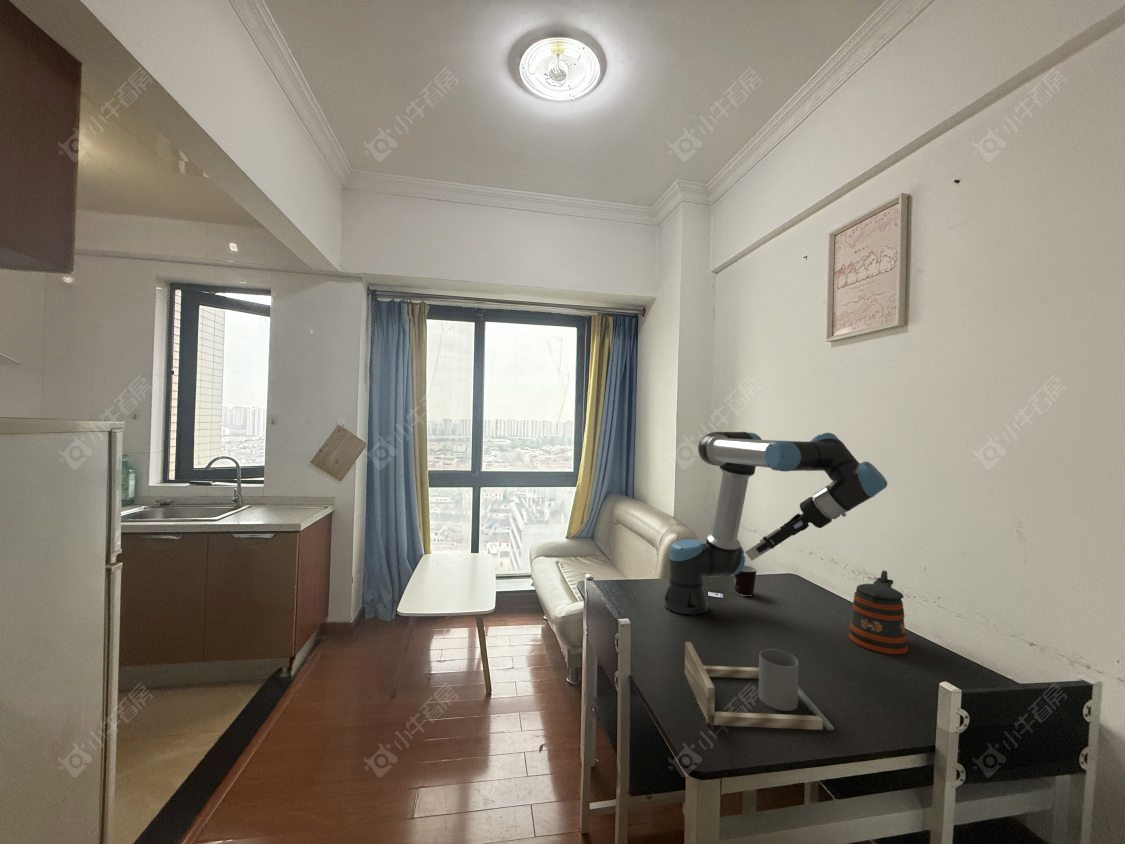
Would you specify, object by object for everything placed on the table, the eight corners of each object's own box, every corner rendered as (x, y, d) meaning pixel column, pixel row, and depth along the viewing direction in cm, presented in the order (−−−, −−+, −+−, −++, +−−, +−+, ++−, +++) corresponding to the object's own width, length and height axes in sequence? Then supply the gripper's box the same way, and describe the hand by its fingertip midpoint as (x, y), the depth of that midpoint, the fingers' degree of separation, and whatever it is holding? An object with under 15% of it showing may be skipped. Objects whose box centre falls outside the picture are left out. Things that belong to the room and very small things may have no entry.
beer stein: (854, 624, 152) (854, 563, 152) (909, 637, 142) (910, 573, 142) (845, 644, 137) (846, 577, 137) (906, 660, 128) (907, 589, 128)
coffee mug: (754, 599, 171) (754, 573, 172) (730, 595, 176) (730, 569, 176) (759, 590, 181) (759, 565, 181) (736, 586, 186) (736, 561, 186)
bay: (707, 724, 98) (707, 687, 98) (684, 672, 119) (685, 641, 119) (833, 730, 97) (834, 692, 97) (788, 676, 118) (788, 645, 118)
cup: (795, 694, 110) (795, 652, 110) (800, 714, 103) (801, 669, 103) (757, 687, 113) (757, 646, 113) (760, 705, 105) (760, 662, 105)
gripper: (824, 530, 105) (751, 574, 115) (840, 511, 124) (776, 551, 135) (801, 503, 108) (732, 548, 118) (820, 489, 127) (759, 529, 138)
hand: (755, 550), depth 126 cm, fingers open, 13 cm apart
